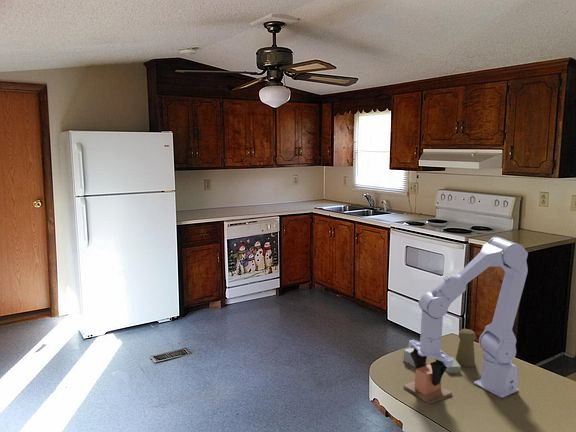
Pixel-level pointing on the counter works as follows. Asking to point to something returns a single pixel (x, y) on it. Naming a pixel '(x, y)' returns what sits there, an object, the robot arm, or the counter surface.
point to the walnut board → (429, 397)
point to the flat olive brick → (454, 367)
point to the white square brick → (409, 356)
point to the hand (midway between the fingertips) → (428, 379)
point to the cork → (466, 348)
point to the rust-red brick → (425, 380)
